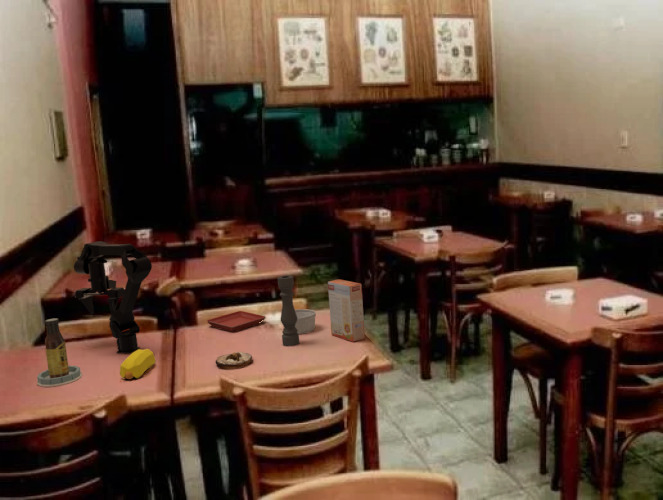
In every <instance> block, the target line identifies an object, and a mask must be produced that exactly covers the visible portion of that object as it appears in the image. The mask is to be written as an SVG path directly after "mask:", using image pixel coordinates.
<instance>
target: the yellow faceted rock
mask: <svg viewBox="0 0 663 500" xmlns="http://www.w3.org/2000/svg"><path fill="white" fill-rule="evenodd" d="M156 362H157V361H156V357H155V353H154V352H153V351H151V349H149V348H145V349H141V348H139V349H138V350H136V351H134V352H133V353H130V355H129V356H127V358H125V360H124V361H123V362H122V363H121V364H120V365H119V369H120V370H119V376H120V377H121V378H122V379H124V380H125V379H127V380H132V379H133V378H135V379H139V378H140V377H142V375H143V374H145V373H144V372H145V371H147V370H149V369H150V368H152V367H153V366H154V364H155V363H156Z"/></svg>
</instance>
